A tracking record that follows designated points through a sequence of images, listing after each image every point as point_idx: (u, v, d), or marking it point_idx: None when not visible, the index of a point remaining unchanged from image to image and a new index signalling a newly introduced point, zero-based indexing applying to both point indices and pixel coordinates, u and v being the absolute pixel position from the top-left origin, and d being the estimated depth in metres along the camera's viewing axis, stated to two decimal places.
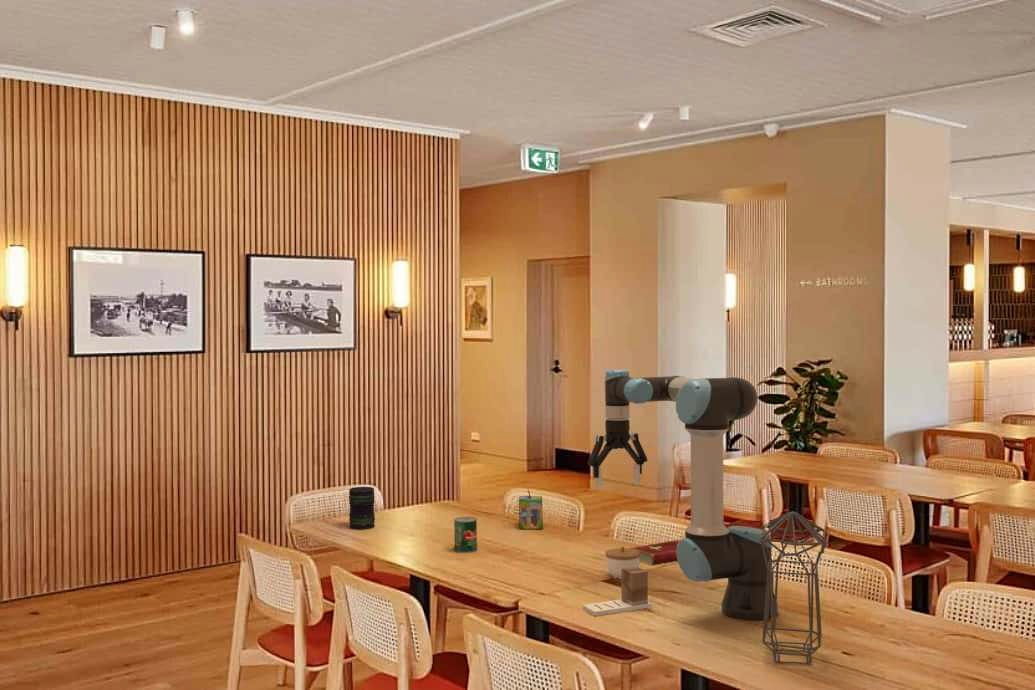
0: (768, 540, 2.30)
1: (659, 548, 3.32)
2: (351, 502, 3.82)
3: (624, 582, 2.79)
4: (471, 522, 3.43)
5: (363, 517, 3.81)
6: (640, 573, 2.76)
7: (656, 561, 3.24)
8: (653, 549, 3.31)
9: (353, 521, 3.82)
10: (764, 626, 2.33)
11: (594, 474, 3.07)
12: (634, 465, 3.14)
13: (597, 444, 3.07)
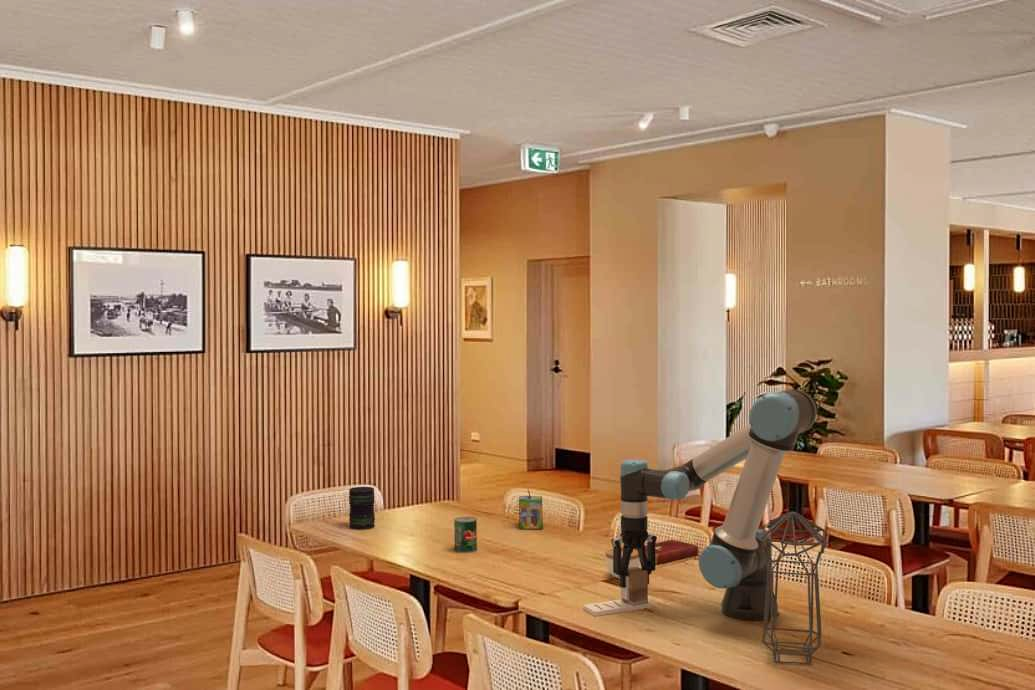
0: (768, 540, 2.30)
1: (659, 548, 3.32)
2: (351, 502, 3.82)
3: None
4: (471, 522, 3.43)
5: (363, 517, 3.81)
6: (640, 573, 2.76)
7: (659, 561, 3.24)
8: None
9: (353, 521, 3.82)
10: (764, 626, 2.33)
11: (621, 583, 2.77)
12: None
13: (615, 550, 2.76)
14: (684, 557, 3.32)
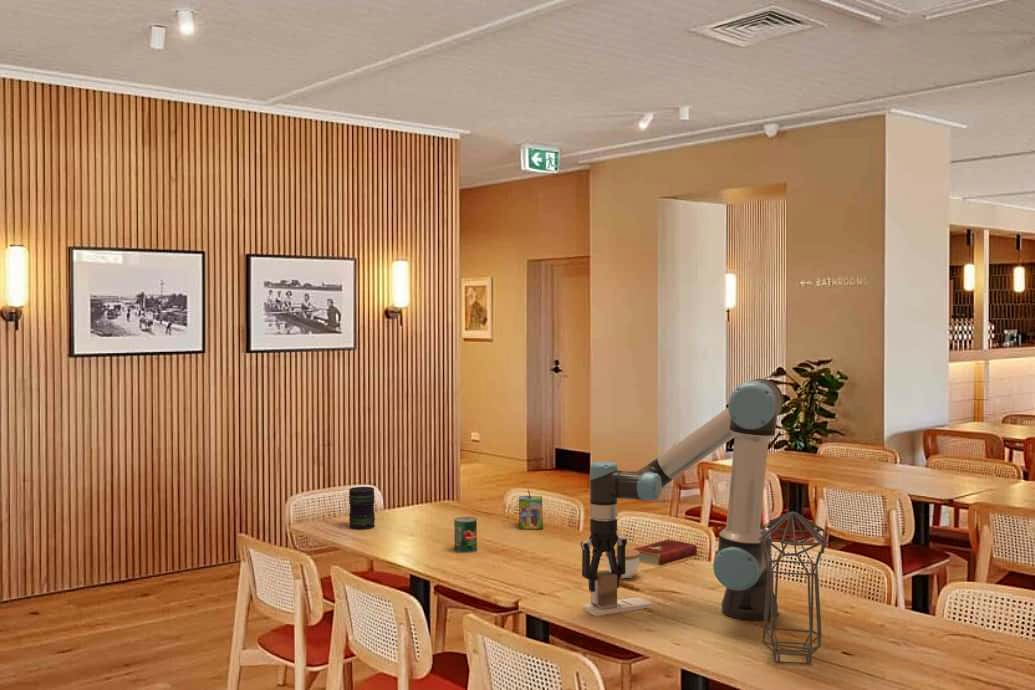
0: (768, 540, 2.30)
1: (659, 548, 3.32)
2: (351, 502, 3.82)
3: None
4: (471, 522, 3.43)
5: (363, 517, 3.81)
6: (609, 577, 2.72)
7: (661, 561, 3.24)
8: (654, 549, 3.30)
9: (353, 521, 3.82)
10: (764, 626, 2.33)
11: (590, 587, 2.73)
12: None
13: (584, 553, 2.72)
14: (684, 557, 3.32)
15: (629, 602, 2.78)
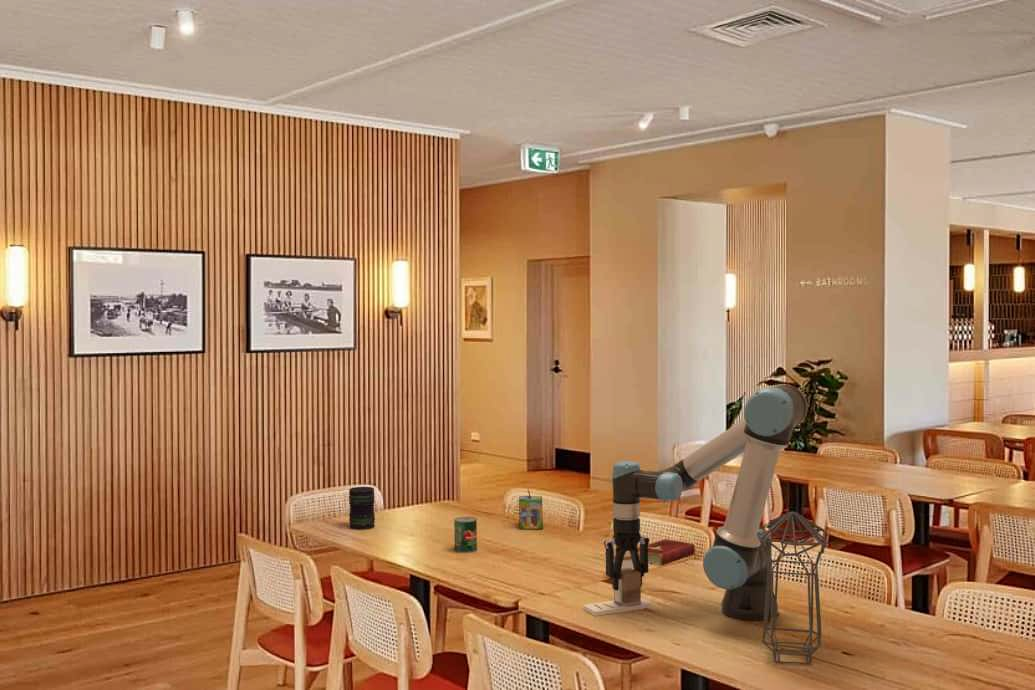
0: (768, 540, 2.30)
1: (659, 548, 3.32)
2: (351, 502, 3.82)
3: None
4: (471, 522, 3.43)
5: (363, 517, 3.81)
6: (633, 574, 2.75)
7: (663, 561, 3.24)
8: (655, 549, 3.30)
9: (353, 521, 3.82)
10: (764, 626, 2.33)
11: (613, 586, 2.76)
12: None
13: (608, 552, 2.74)
14: (683, 556, 3.33)
15: None
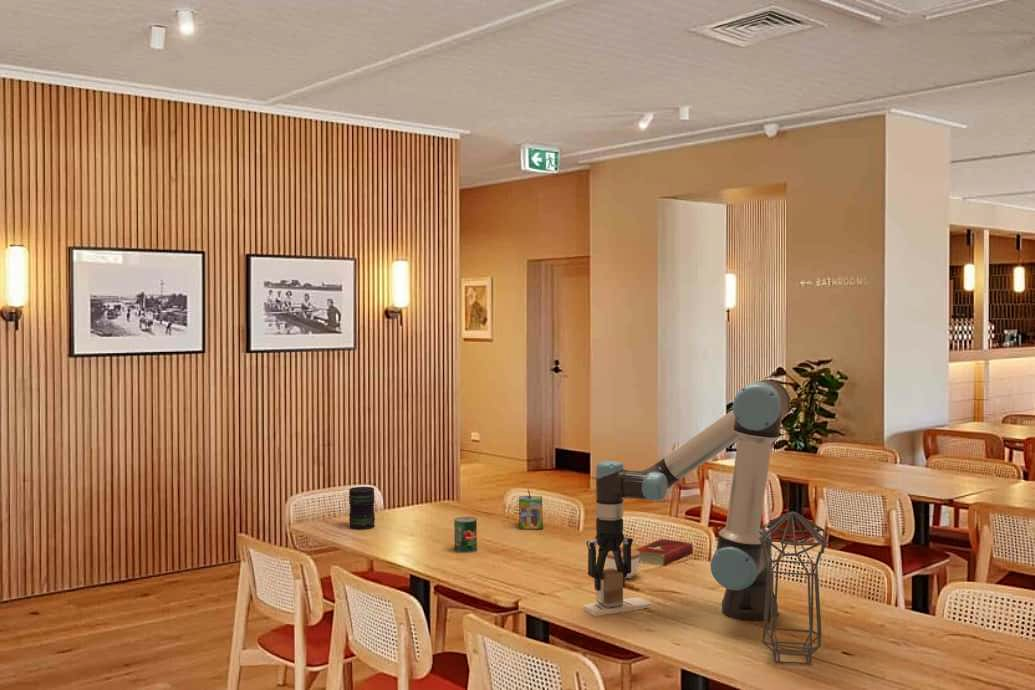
0: (768, 540, 2.30)
1: (659, 548, 3.32)
2: (351, 502, 3.82)
3: None
4: (471, 522, 3.43)
5: (363, 517, 3.81)
6: (615, 575, 2.73)
7: (666, 561, 3.24)
8: (655, 550, 3.30)
9: (353, 521, 3.82)
10: (764, 626, 2.33)
11: (595, 586, 2.74)
12: None
13: (590, 552, 2.73)
14: (683, 556, 3.34)
15: (629, 602, 2.78)
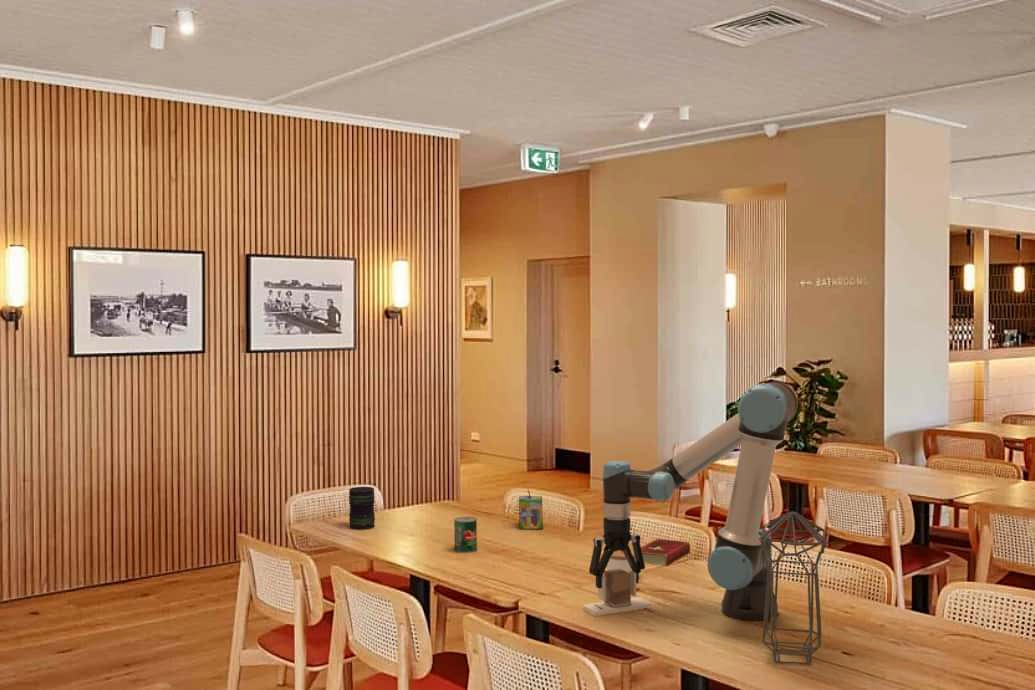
0: (768, 540, 2.30)
1: (659, 548, 3.32)
2: (351, 502, 3.82)
3: (607, 584, 2.77)
4: (471, 522, 3.43)
5: (363, 517, 3.81)
6: (623, 575, 2.74)
7: (668, 561, 3.24)
8: (656, 550, 3.30)
9: (353, 521, 3.82)
10: (764, 626, 2.33)
11: (597, 584, 2.74)
12: (630, 573, 2.79)
13: (596, 550, 2.73)
14: (682, 555, 3.34)
15: None
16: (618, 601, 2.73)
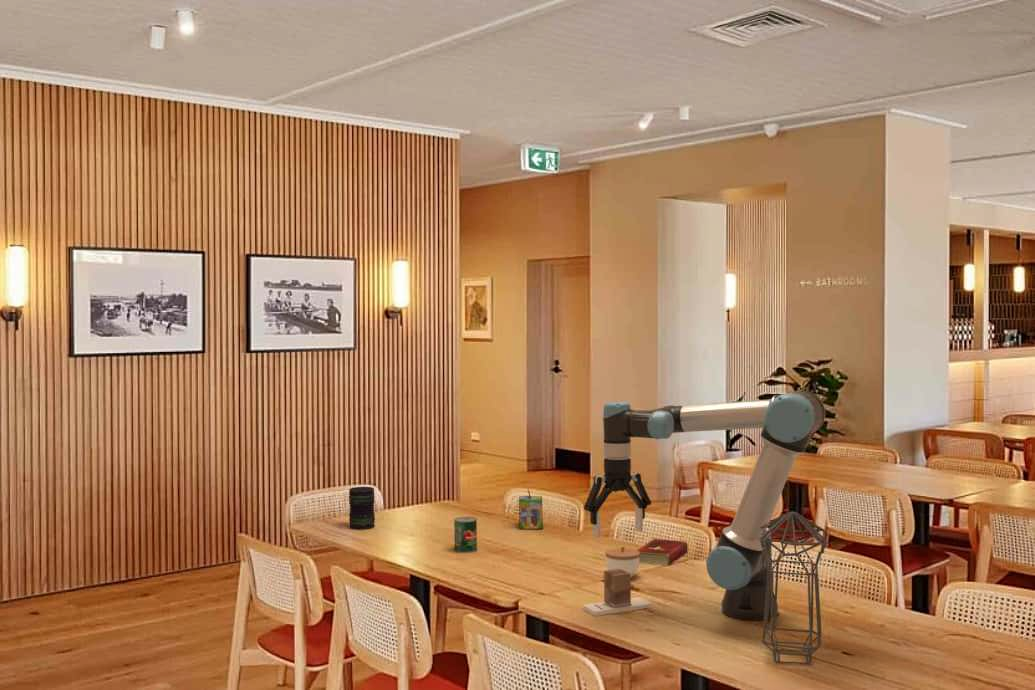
0: (768, 540, 2.30)
1: (659, 548, 3.32)
2: (351, 502, 3.82)
3: (607, 584, 2.77)
4: (471, 522, 3.43)
5: (363, 517, 3.81)
6: (623, 575, 2.74)
7: (670, 561, 3.24)
8: (657, 550, 3.29)
9: (353, 521, 3.82)
10: (764, 626, 2.33)
11: (591, 520, 2.73)
12: (636, 509, 2.80)
13: (595, 486, 2.73)
14: (681, 555, 3.35)
15: None
16: (618, 601, 2.73)
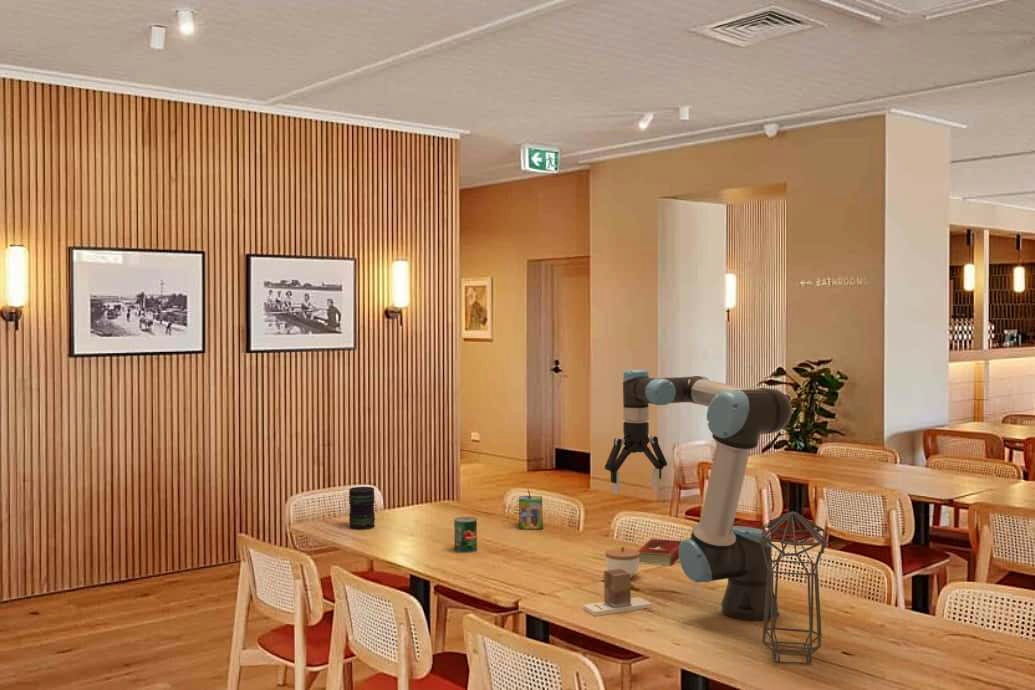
0: (768, 540, 2.30)
1: (659, 548, 3.32)
2: (351, 502, 3.82)
3: (607, 584, 2.77)
4: (471, 522, 3.43)
5: (363, 517, 3.81)
6: (623, 575, 2.74)
7: (672, 561, 3.24)
8: (657, 550, 3.29)
9: (353, 521, 3.82)
10: (764, 626, 2.33)
11: (612, 479, 2.94)
12: (653, 469, 3.00)
13: (615, 448, 2.94)
14: None
15: None
16: (618, 601, 2.73)
